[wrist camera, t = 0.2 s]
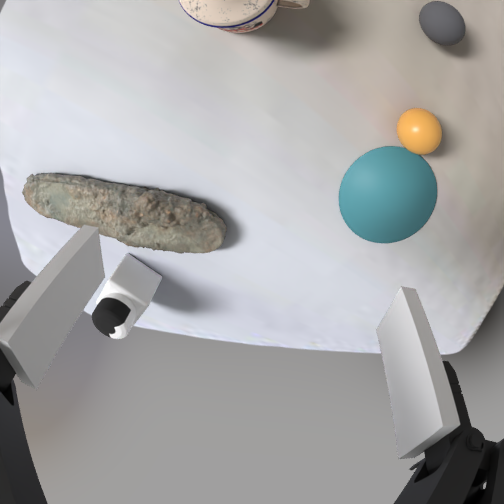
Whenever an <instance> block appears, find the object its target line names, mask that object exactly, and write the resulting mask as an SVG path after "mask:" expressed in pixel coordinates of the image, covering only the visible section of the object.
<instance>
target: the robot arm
mask: <svg viewBox="0 0 504 504" xmlns="http://www.w3.org/2000/svg"><path fill="white" fill-rule="evenodd" d="M104 278H105V274H104V267H103V261H102V253H101V246H100V238H99V229H98V227H93V226H88V225H83V226H82V227H81V228H80V229H79V230H78V231H77V232H76V233H75V234H74V236H73V237H72V238H71V239H70V240H69V241H68V242H67V243H66V244H65V245H64V246H63V247H62V248H61V250H60V251H59V252H58V253H57V254H56V255H55V256H54V257H53V258H52V260H51V261H50V262H49V263H48V264H47V265H46V266H45V268H44V269H43V270H42V271H41V272H40V273H39V274H38V276H37V277H36V278H35V279H34V281H33V282H29V281H25V282H24V283H22V284H21V285H20V286H18V287H17V288H16V289H15V290H14V291H13V293H12V294H11V295H10V296H9V299H7V300H6V301H5V302H4V304H3V306H1V307H0V504H47V501H46V498H45V496H44V493H43V490H42V488H41V485H40V482H39V479H38V476H37V473H36V470H35V467H34V464H33V461H32V457H31V454H30V451H29V447H28V443H27V440H26V435H25V431H24V428H23V423H22V418H21V414H20V409H19V404H18V399H17V394H16V387H15V383H14V380H13V378H14V376H15V374H17V376H18V377H19V379H20V380H21V382H23V383H25V384H27V385H29V386H31V387H33V388H35V389H37V388H38V386H39V385H40V383H41V381H42V379H43V377H44V375H45V374H46V372H47V370H48V368H49V366H50V365H51V363H52V361H53V359H54V357H55V356H56V354H57V352H58V351H59V349H60V347H61V345H62V344H63V342H64V340H65V339H66V337H67V335H68V333H69V332H70V330H71V329H72V327H73V326H74V324H75V322H76V321H77V319H78V317H79V316H80V314H81V313H82V311H83V310H84V308H85V306H86V305H87V303H88V302H89V300H90V299H91V297H92V296H93V294H94V293H95V291H96V290H97V288H98V287H99V285H100V284H101V282H102V281H103V279H104ZM376 330H377V335H378V339H379V344H380V349H381V354H382V358H383V363H384V369H385V374H386V379H387V385H388V390H389V396H390V402H391V408H392V415H393V421H394V428H395V436H396V443H397V451H398V459H404V458H415V457H416V456H418V455H420V454H421V453H423V452H425V458H424V459H422V460H421V461H419V462H418V463H416V464H415V465H413V466H412V467H411V468H410V470H413V469H415V468H417V469H416V471H415V472H414V474H413V475H412V477H411V479H410V480H409V482H408V483H407V485H406V486H405V488H404V489H403V491H402V492H401V494H400V495H399V497H398V498H397V500H396V501H395V503H394V504H504V439H502V440H501V441H500V442H498V443H496V442H492V441H488V440H485V438H484V436H483V434H482V433H481V432H480V431H479V430H478V429H476V428H474V427H472V426H471V423H470V419H469V416H468V412H467V408H466V405H465V402H464V398H463V394H461V392H462V391H461V388H460V385H458V384H459V381H458V378H457V376H456V372H455V370H454V369H453V368H452V366H451V365H450V363H449V362H448V361H442V359H441V356H440V353H439V350H438V347H437V344H436V341H435V338H434V336H433V333H432V330H431V327H430V325H429V322H428V319H427V317H426V314H425V311H424V309H423V306H422V304H421V301H420V299H419V296H418V294H417V292H416V289H413V288H407V287H402V286H401V288H400V289H399V291H398V293H397V295H396V297H395V298H394V300H393V302H392V304H391V305H390V307H389V309H388V311H387V312H386V314H385V316H384V318H383V319H382V321H381V323H380V324H379V326H378V328H377V329H376ZM485 482H487V483H486V488H485V489H483V484H484V483H485Z"/></svg>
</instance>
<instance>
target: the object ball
mask: <svg viewBox="0 0 504 504" xmlns="http://www.w3.org/2000/svg"><path fill="white" fill-rule="evenodd" d="M397 135H398V138H399V140H400V142H401V144H402V145H403V146H404V147H405V148H406V149H407V150H409V151H410V152H412V153H415V154H419V155H424V154H429V153H431V152H433V151H434V150H435V149H436V148H437V147H438V146H439V144H440V142H441V138H442V129H441V126H440V123H439V121H438V120H437V118H436V117H435V116H434V115H433V114H432V113H431V112H429V111H427V110H425V109H421V108H413V109H409V110H407V111H406V112H404V113H403V114H402V115H401V117H400V118H399V120H398V123H397Z"/></svg>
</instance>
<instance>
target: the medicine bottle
mask: <svg viewBox="0 0 504 504" xmlns="http://www.w3.org/2000/svg"><path fill="white" fill-rule="evenodd" d="M161 280H162V276H161V275H159V274H158V273H156V272H155V271H153V270H152V269H150V268H149V267H147V266H146V265H145V264H143V263H142V262H140V261H139V260H137V259H136V258H134V257H133V256H131V255H130V254H128V253H127V254H125V256H124V257H123V259H122V260H121V262H120V263H119V264H118V266H117V267H116V269H115V270H114V272H113V273H112V275H111V276H110V278H109V279H108V281H107V283H106V285H105V287H104V288H103V290H102V292H101V294H100V296H99V298H98V300H97V302H96V304H97V307H96V308H95V310H94V312H93V313H92V320H93V323H94V325H95V327H96V328H97V329H98V330H99V331H100V332H101V333H103V334H104V335H106V336H108V337H111V338H114V339H121V338H124V337H126V336H127V335H128V333H129V331H130V329H131V327H132V326H133V325H134V324H135V323H136V321H137V320H138V319H139V318H140V316H141V315H142V314H143V312H144V311H145V310H146V309H147V307H148V306H149V304H150V302H151V300H152V298H153V296H154V294H155V292H156V290H157V288H158V286H159V284H160V282H161Z"/></svg>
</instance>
